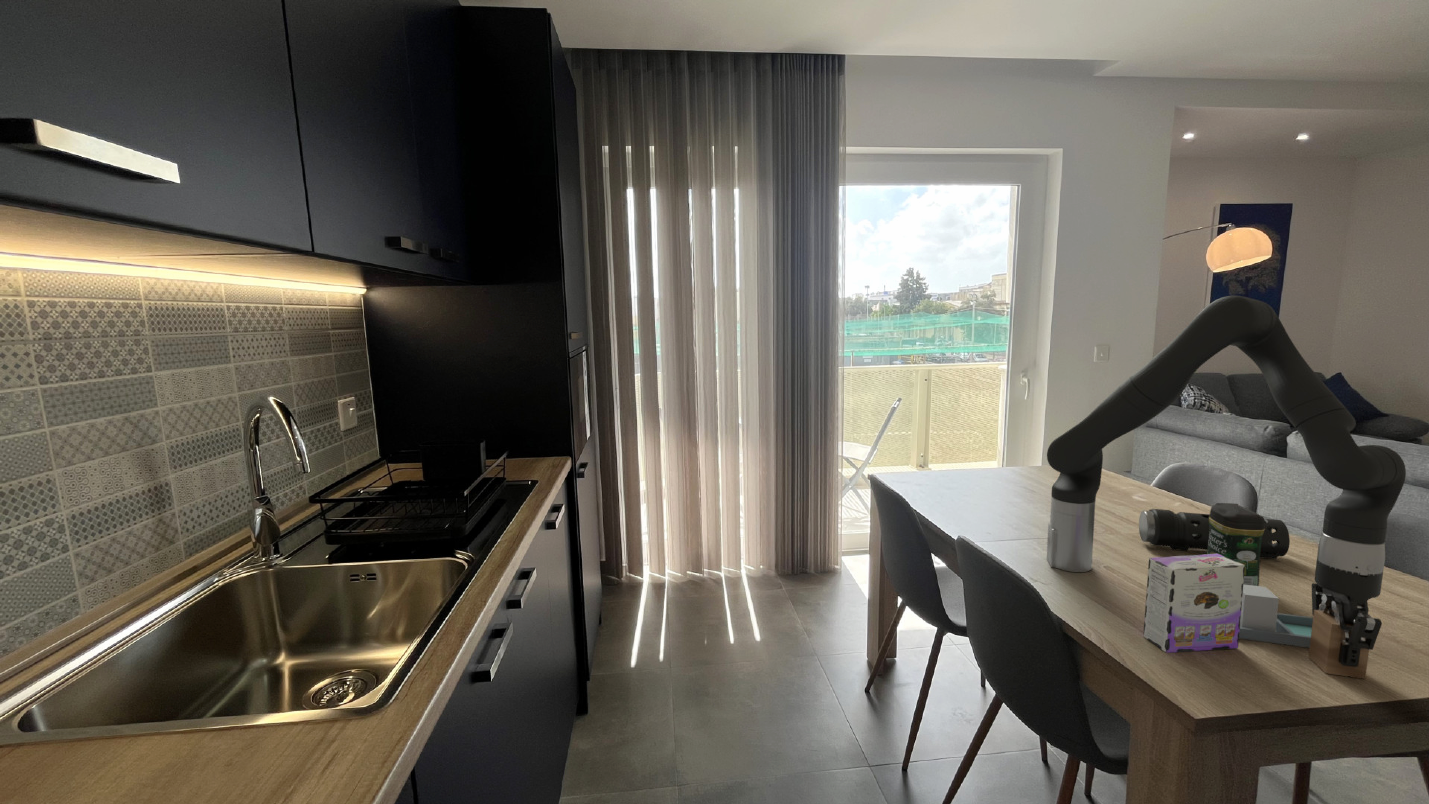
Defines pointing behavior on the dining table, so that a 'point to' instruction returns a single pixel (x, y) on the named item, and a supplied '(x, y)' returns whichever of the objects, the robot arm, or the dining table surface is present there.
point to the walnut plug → (1332, 647)
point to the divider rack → (1271, 620)
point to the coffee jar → (1237, 537)
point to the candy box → (1193, 602)
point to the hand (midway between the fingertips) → (1337, 655)
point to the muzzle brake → (1202, 532)
